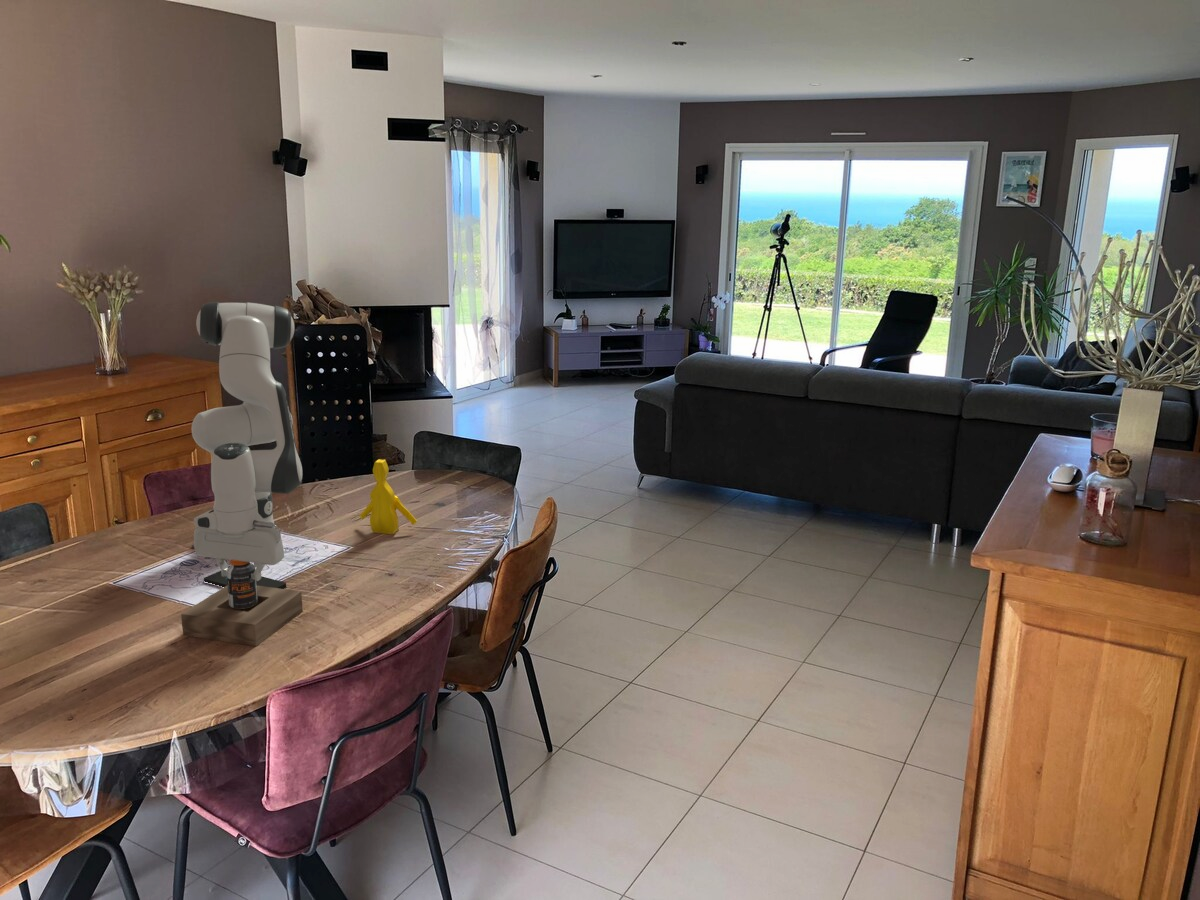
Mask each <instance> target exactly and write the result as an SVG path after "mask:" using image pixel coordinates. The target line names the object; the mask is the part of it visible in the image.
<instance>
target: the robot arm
mask: <svg viewBox="0 0 1200 900" xmlns="http://www.w3.org/2000/svg"><path fill="white" fill-rule="evenodd" d="M195 324H196V331H197V333H198V335H199V339H200V340H201V341H202V342H204V343H205V344H208V345H209V346H212V347H213V346H215V347H218V346H219V347H220V348H219V360H218V372H219V373H218V375H219V379H220V384H221V385H222V387H223V388H224V391H226V392H227V393H228V394H230V395H231V396H232V397H234V398H236V399H237V400H239V401H242V403H241V404H239V405H230V406H229V405H228V406H221V407H215V408H211V409H208V410H205V411H201V412H198V413H197V414H196V416H194V418H193V419H192V423H191V429H190V430H191V436H192V438H193V440H194V442H195V443H196V444H197V445H198V446H199V448H202V449H203V450H205V451H207V452H209V453H210V454H211V463H210V469H209V471H210V472H209V473H210V474H209V475H210V483H211V484H210V485H211V490H212V492H213V494H214V502H213V509H210V510H207V511H205V512H203V513H201V514H199V515H198V516H196V517H194V518H193V524H194V526H195V529H194V531H193V549H194V551H195V553H196V554H197V555H198V556H199V557H205V558H213V559H214V560H215V563H216V565H217V566H218V568H219V569H220V571H221V574H222V576H223V577H227V568H228V567H229V565H228V563H227V561H226V560H229V561H230V560H231V559H232V560H239V561H244V562H250V563H252V564H253V565H254V567H255V571H254V572H252V573H251V580H254V581H259V580H260V579H261V576H262V571H263V569H264V567H265V565H269V566H274V565H277V564H279V563H280V562H282V561H283V559H284V557H285V551H284V545H283V541H282V533H281V531H282V530H281V529H280V528H279V526H277V525H276V524H275V520H274V513H273V511H274V510H273V509H274V502H273V494H284V495H289V494H290V493H291V492H293V491H294V490H295V489H297V488H298V487H299V486H300V485H301V483H302V480H303V466H302V462H301V459H300V457H299V453H298V449H297V446H296V445H297V444H296V439H295V434H294V433H295V432H294V428H293V427H294V426H293V424H294V421H293V416H292V413H291V410H290V404H289V400H288V396H287V393H286V389H285V388H284V385H283V384H282V383H281V382H280V381H278V380H276V379H275V378H274V376H273V373H272V370H271V349H273V350H277V349H283V348H286V347H287V346H289V345H290V344H291V341H292V339H293V337H294V334H295V321H294V319H293V317H292V313H291V312H290V310H289V309H287V308H286V307H283V306H279V305H273V306H272V305H268V304H264V303H257V302H249V301H248V302H219V301H209V302H206V303H204V304H202V306H201V307H200V310H199V312H198V313H197V317H196V322H195ZM272 442H276V447H275V448H273V449H257V450H256V449H253V450H251V449H250V447H249V446H254V445H260V444H262V445H263V444H268V443H272Z"/></svg>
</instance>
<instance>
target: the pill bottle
mask: <svg viewBox="0 0 1200 900" xmlns="http://www.w3.org/2000/svg"><path fill="white" fill-rule="evenodd" d="M229 563H230V565H228V568H227V584H228V596H229V605H230V607H232V608H235V609H245V608H249V607H252V606H254V605H255V604H256V603H257V602H258V599H257V587H256V581H254V580H251V573H252V572H254V571H255V570H256V567H254V563H252V562H244V561H239V560H232V559H231V560H229Z"/></svg>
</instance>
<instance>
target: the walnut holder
mask: <svg viewBox="0 0 1200 900" xmlns="http://www.w3.org/2000/svg"><path fill="white" fill-rule="evenodd" d="M256 587H257V599H258V602H257V603H256V604H255V605H254V606H252V607H249V608H245V609H235V608H232V607H230V605H229V596H228V585H227V586H225V587H224V588H221V589H219V590H217V591H216V592H214V593H213V594H210V595H209V596H208V597H206V598H204V599H203V600H201V601H200V602H198V603H196V604H195V605H193V606H192V607H190V608H188V609H187V610H185V611H183V612H181V613H180V616H181V617H180V619H181V626H182V627H181V629H182V635H183V636H186V635H188V636H187V637H192V636H193V637H194V638H195V637H196V638H200V639H206V640H213V641H219V642H227V643H234V644H241V645H245V646H246V645H247V646H252V647H257V646H259V645H261V644H262V643H263V642H265V641H266V640H267V639H268V638H269V637H271V636H272V635H273V634H275V633H277V631H279V630H280V629H281V628H283V627H284V626H285V625H287V624H288V623H289V622H291V621H293V619H295V618H296V617H297V616H299V615H301V614H302V612H303V598H302V597H303V596H302V595H303V594H302V591H300V590H299V591H298V590H292V589H287V588H285V589H279V588H272V587H264V586H257V585H256Z"/></svg>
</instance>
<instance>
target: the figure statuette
mask: <svg viewBox="0 0 1200 900" xmlns="http://www.w3.org/2000/svg"><path fill="white" fill-rule="evenodd" d="M389 470H390V469H389V466H388V463H387V461H386V459H377V460H376V461H375V462H374V464H373V468H372V474H373V477H374V479H375V480H376V484H375V486H374V487H373V488H372V490H371V491H370V493H369V496H370V497H369V498H370V502H369V504H368V505H367V506H366V507H365V509H364V510H363V511H362V512H361V514H360V515H359V517H360V519H361V520H364V519H365V518H366V517H367V516H368V515H369V514H370V517H369V524H370V528H371V531H372V532H373V533H374V534H383V535H384V534H385V535H394V534H395V533H396V532H398V531H399V530H400V528H399V518H398V514H397V511H399V512H400V513H401V514H402V515H403V516H404V517H405V518H406V520H408V521H409V523H411V525H413V526H414V525H415V524H416V523H418V520H417V519H416V518H415V516H414V515H413V514H412V513H411V512H410V511H409V509H407V508H406V507H405V505H404V504H403V503H402V502H401V500H400V498H399V497H398V496H397V495H395V492H394V490H393V488H392V487H391V486H390V485H389V483H388V481H387V477H388V475H389Z"/></svg>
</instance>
